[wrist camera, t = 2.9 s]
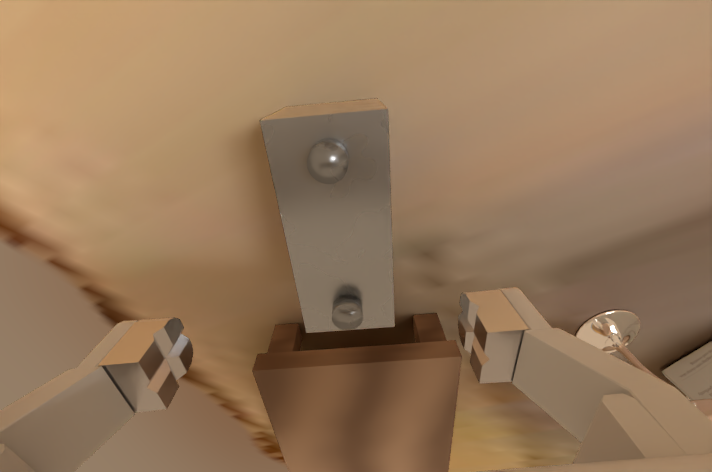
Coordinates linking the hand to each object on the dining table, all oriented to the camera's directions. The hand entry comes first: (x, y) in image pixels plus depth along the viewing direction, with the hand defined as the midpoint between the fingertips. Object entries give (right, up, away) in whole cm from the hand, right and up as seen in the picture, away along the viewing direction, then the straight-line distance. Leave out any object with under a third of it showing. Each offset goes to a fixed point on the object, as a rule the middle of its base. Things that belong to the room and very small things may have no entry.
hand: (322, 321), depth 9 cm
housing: (0, +5, +8) cm, 9 cm away
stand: (+2, -10, +16) cm, 18 cm away
